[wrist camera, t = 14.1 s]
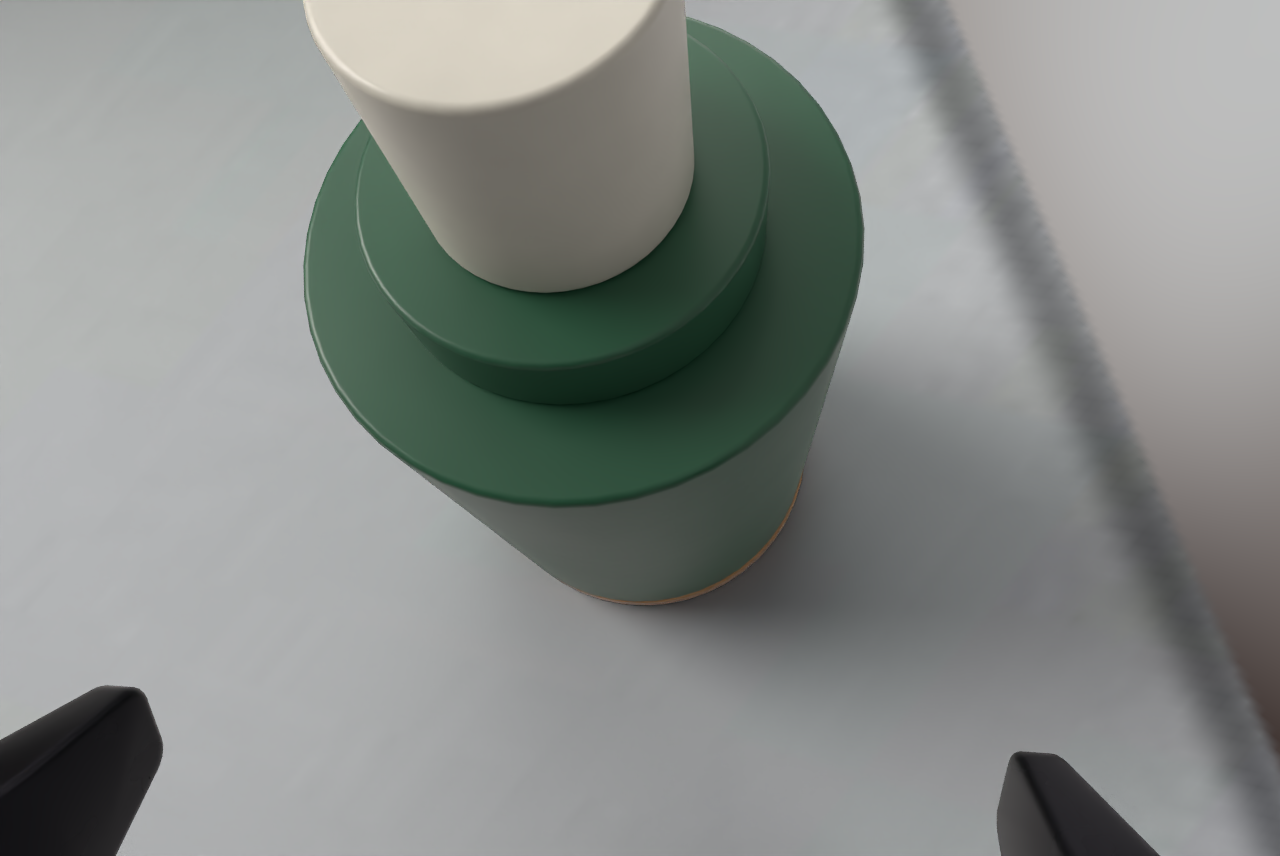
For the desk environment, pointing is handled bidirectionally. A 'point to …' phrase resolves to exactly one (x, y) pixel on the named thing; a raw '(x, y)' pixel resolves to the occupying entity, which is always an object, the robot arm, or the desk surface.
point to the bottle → (584, 275)
